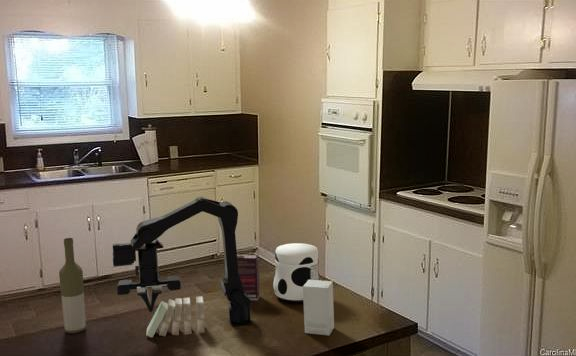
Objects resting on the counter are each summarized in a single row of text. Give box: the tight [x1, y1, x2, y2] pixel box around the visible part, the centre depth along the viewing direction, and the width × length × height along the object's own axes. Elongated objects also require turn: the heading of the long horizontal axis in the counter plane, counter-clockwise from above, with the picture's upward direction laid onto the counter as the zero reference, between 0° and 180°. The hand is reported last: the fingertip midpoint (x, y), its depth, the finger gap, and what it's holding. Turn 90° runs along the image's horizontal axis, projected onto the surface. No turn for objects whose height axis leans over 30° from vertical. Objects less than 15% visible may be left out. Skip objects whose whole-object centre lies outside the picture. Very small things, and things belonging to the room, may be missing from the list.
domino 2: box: [158, 298, 175, 337], centre depth 174 cm, size 2×5×10 cm, turn 12°
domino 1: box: [145, 300, 168, 338], centre depth 173 cm, size 2×5×10 cm, turn 12°
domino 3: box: [171, 297, 183, 336], centre depth 175 cm, size 2×5×10 cm, turn 12°
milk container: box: [272, 242, 321, 303], centre depth 202 cm, size 17×17×18 cm
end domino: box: [195, 295, 206, 334], centre depth 176 cm, size 2×5×10 cm, turn 12°
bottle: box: [58, 237, 87, 334], centre depth 175 cm, size 7×7×30 cm
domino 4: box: [182, 297, 192, 335], centre depth 175 cm, size 2×5×10 cm, turn 12°
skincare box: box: [303, 279, 335, 336], centre depth 173 cm, size 8×7×16 cm
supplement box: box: [237, 254, 260, 301], centre depth 202 cm, size 9×5×16 cm, turn 84°
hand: (151, 311), depth 173 cm, fingers closed
